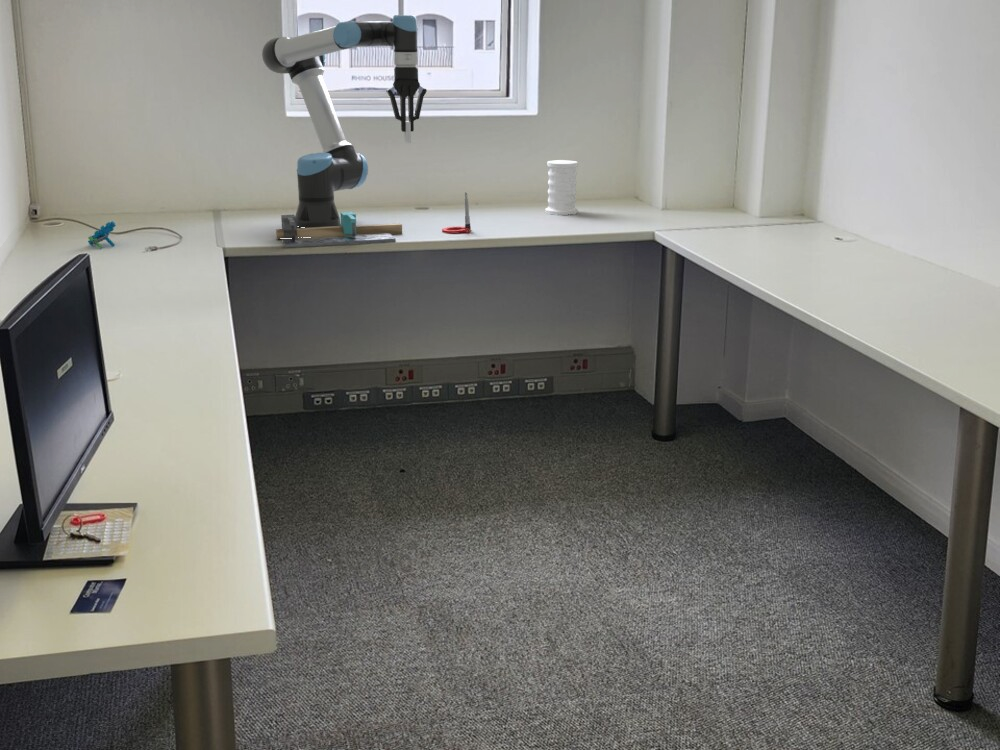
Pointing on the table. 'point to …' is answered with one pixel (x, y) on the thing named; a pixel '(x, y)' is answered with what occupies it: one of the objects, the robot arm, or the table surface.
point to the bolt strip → (338, 240)
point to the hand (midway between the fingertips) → (407, 142)
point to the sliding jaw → (348, 223)
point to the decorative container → (562, 187)
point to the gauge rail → (331, 229)
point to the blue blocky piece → (102, 235)
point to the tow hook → (467, 221)
